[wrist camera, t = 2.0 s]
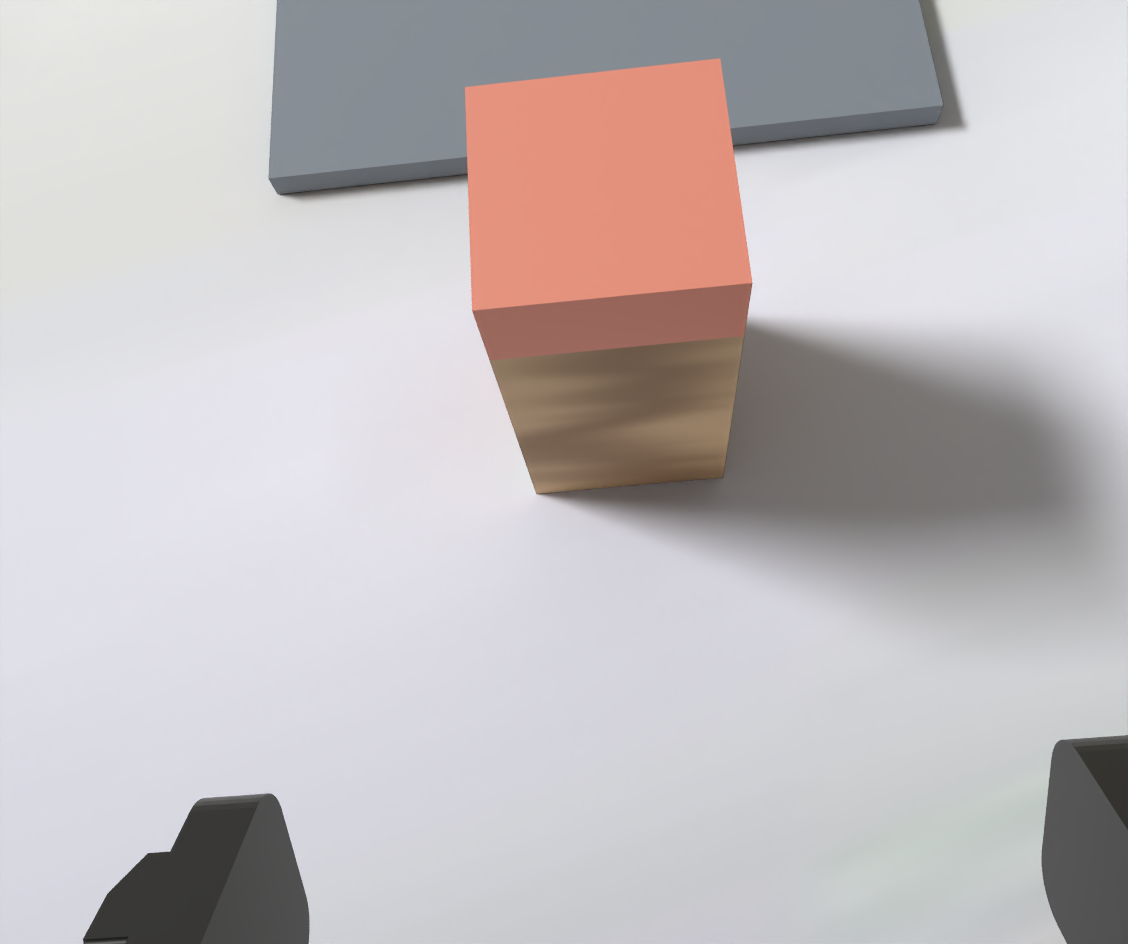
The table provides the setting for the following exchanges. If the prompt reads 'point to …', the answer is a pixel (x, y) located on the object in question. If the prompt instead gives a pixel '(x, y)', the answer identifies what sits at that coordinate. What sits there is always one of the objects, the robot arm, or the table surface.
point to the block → (610, 270)
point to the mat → (573, 71)
